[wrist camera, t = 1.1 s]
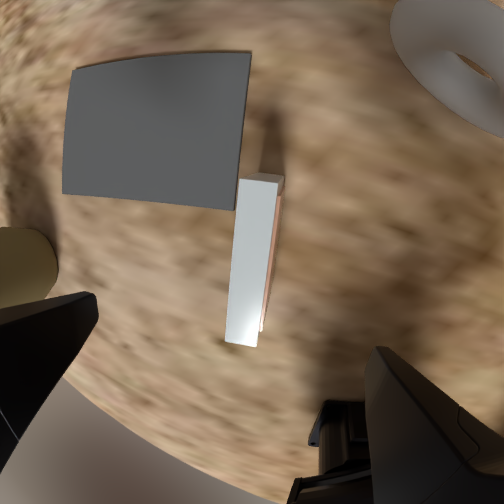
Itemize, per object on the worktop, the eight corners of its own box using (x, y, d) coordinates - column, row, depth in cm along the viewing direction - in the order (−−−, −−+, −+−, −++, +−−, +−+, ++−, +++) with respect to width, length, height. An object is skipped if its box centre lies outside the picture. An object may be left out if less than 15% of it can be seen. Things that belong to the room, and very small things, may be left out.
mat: (234, 210, 19) (233, 211, 18) (65, 193, 20) (62, 193, 20) (251, 55, 16) (250, 53, 15) (75, 71, 17) (72, 70, 17)
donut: (361, 54, 14) (413, -28, 5) (384, 21, 13) (439, -62, 4) (478, 152, 15) (583, 162, 5) (495, 116, 14) (595, 109, 4)
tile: (270, 296, 20) (259, 347, 15) (245, 292, 20) (225, 341, 15) (286, 175, 18) (281, 183, 12) (258, 172, 18) (239, 178, 12)
